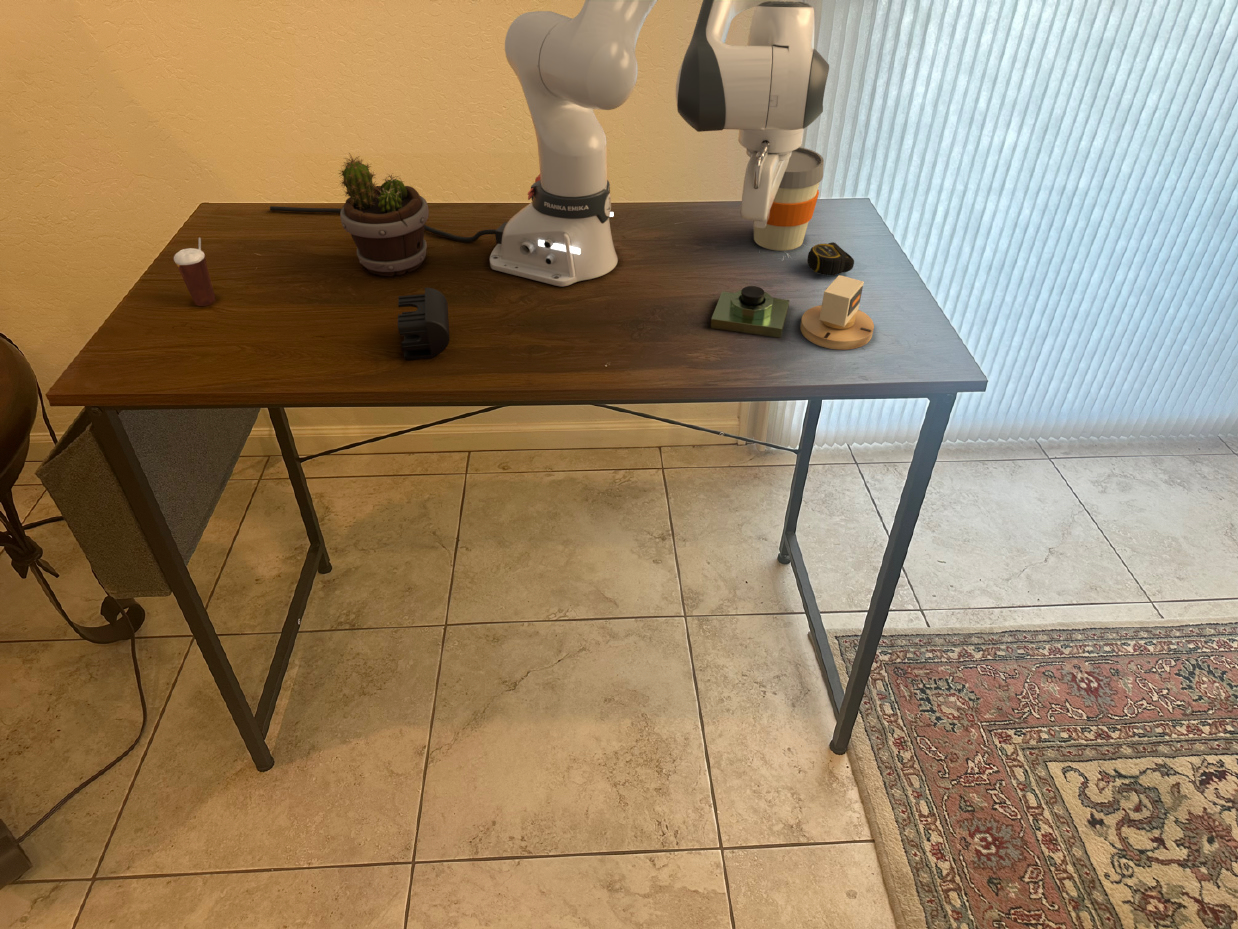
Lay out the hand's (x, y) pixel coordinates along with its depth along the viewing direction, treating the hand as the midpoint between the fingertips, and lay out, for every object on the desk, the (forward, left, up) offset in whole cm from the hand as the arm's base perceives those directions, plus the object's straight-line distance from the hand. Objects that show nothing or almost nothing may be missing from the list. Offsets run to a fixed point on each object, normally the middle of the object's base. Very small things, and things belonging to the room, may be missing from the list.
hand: (761, 223), depth 128 cm
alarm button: (0, -1, -12) cm, 12 cm away
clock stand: (+14, -1, -15) cm, 21 cm away
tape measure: (+11, +19, -16) cm, 27 cm away
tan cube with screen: (+14, -1, -14) cm, 19 cm away
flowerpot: (-63, +1, -16) cm, 65 cm away
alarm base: (0, -1, -15) cm, 16 cm away
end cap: (-46, -21, -16) cm, 53 cm away
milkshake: (-87, -19, -16) cm, 91 cm away
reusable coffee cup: (+1, +28, -16) cm, 32 cm away
